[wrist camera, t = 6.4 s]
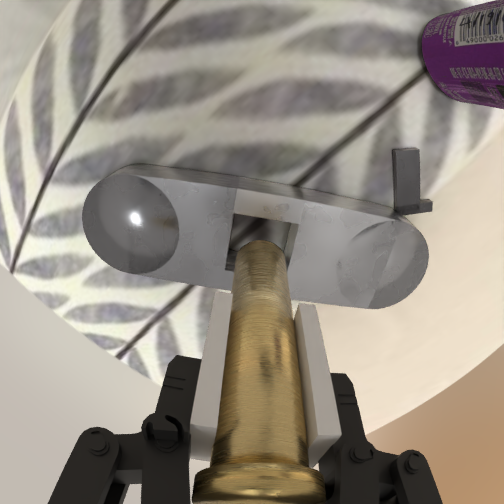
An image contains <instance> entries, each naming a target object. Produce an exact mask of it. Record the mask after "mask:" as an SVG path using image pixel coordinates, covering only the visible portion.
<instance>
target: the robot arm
mask: <svg viewBox="0 0 504 504" xmlns="http://www.w3.org/2000/svg"><path fill="white" fill-rule="evenodd" d="M232 297H233V294H231V293H225V292H219V291H215V296H214V301H213V306H212V311H211V316H210V321H209V326H208V331H207V336H206V341H205V346H204V351H203V356H202V359H196V358H191V357H185V356H180V355H176V356H175V357H174V359H173V360H172V361H171V362H170V363H169V364H168V367H167V371H166V374H165V378H164V381H163V386H162V389H161V392H160V396H159V399H158V403H157V407H156V411H155V413H153V414H150V415H149V416H148V417H147V418H146V419H145V420H144V421H143V424H142V427H141V429H142V431H141V432H139V433H135V434H119V435H118V434H113V433H112V432H111V431H109V430H107V429H105V428H101V427H93V428H89V429H87V430H85V431H84V432H83V433H82V434H81V435H80V437H79V439H78V441H77V443H76V445H75V447H74V449H73V451H72V453H71V455H70V457H69V459H68V461H67V463H66V465H65V467H64V469H63V471H62V473H61V476H60V478H59V480H58V482H57V484H56V486H55V489H54V491H53V493H52V495H51V497H50V500H49V502H48V504H123V501H124V499H125V496H126V493H127V490H128V487H129V485H130V484H142V488H141V489H142V490H141V504H190V484H189V460H190V458H191V459H197V460H203V461H210V460H211V451H212V446H213V444H214V442H215V437H216V431H217V424H218V415H219V406H220V397H221V389H222V380H223V371H224V363H225V354H226V346H227V338H228V330H229V321H230V313H231V305H232ZM294 329H295V337H296V345H297V353H298V362H299V370H300V379H301V388H302V397H303V407H304V416H305V426H306V437H307V447H308V458H309V468H313V467H314V466H315V465H316V464H317V463H319V472H321V473H322V474H323V476H324V482H325V492H326V503H325V504H443V503H442V500H441V498H440V495H439V492H438V489H437V486H436V483H435V481H434V478H433V475H432V473H431V470H430V467H429V465H428V463H427V460H426V458H425V457H424V455H423V454H421V453H420V452H418V451H415V450H407V451H405V452H403V453H401V454H400V455H395V454H390V453H385V452H381V451H378V450H376V449H375V448H374V446H373V445H372V444H371V443H370V442H368V441H367V439H366V437H365V433H364V429H363V424H362V420H361V416H360V411H359V407H358V405H357V399H356V397H355V391H354V387H353V383H352V382H351V381H350V379H349V378H348V376H347V375H346V374H342V373H330V370H329V365H328V360H327V356H326V351H325V346H324V342H323V337H322V332H321V328H320V323H319V319H318V315H317V310H316V306H315V305H309V304H301V303H299V305H298V308H297V311H296V314H295V318H294Z"/></svg>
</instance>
